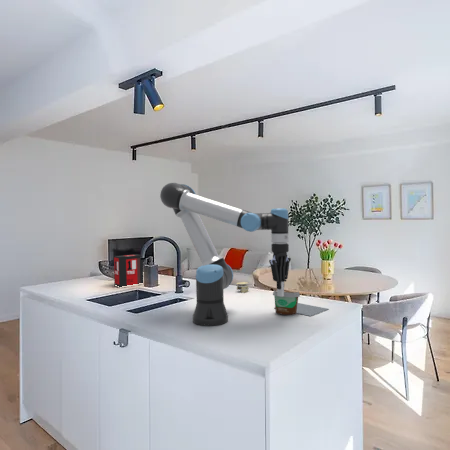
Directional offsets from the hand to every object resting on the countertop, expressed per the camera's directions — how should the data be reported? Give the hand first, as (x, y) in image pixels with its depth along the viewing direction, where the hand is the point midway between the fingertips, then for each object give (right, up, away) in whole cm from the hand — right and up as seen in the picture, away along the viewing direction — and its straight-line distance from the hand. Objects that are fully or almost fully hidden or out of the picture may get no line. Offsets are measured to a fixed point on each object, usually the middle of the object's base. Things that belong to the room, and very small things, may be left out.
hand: (280, 296), depth 157 cm
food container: (+2, -9, +2) cm, 9 cm away
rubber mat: (+12, -9, +11) cm, 18 cm away
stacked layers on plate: (-14, -9, +53) cm, 56 cm away
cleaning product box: (-89, -9, +80) cm, 120 cm away
